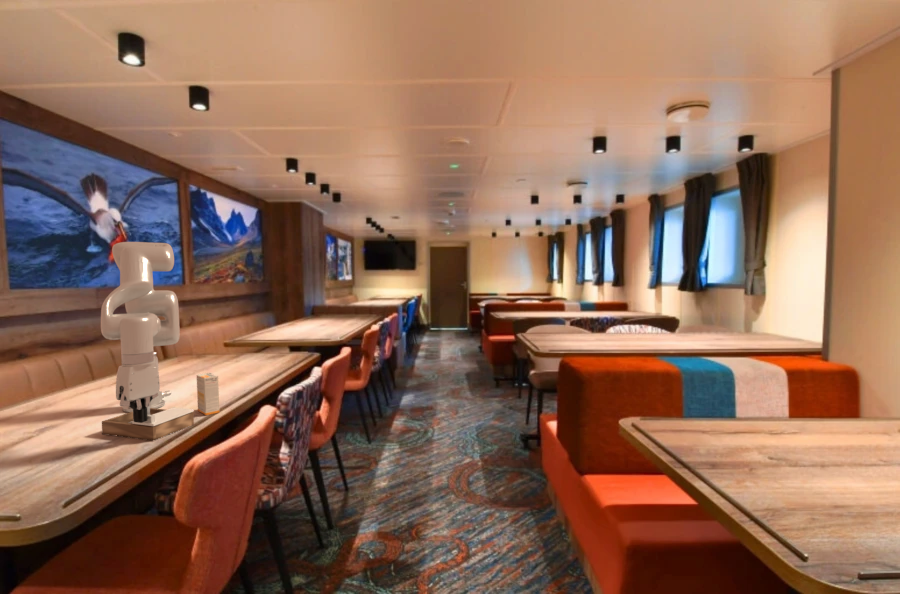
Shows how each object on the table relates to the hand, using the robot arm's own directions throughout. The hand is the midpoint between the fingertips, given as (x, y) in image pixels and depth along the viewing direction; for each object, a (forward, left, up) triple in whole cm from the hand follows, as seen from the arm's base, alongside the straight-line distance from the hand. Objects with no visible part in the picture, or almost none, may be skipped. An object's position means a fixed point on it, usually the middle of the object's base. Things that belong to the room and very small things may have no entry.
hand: (140, 421), depth 125 cm
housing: (-8, -7, -6) cm, 12 cm away
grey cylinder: (-8, -10, -5) cm, 14 cm away
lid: (-8, -1, -2) cm, 9 cm away
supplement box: (-27, -3, -6) cm, 28 cm away
